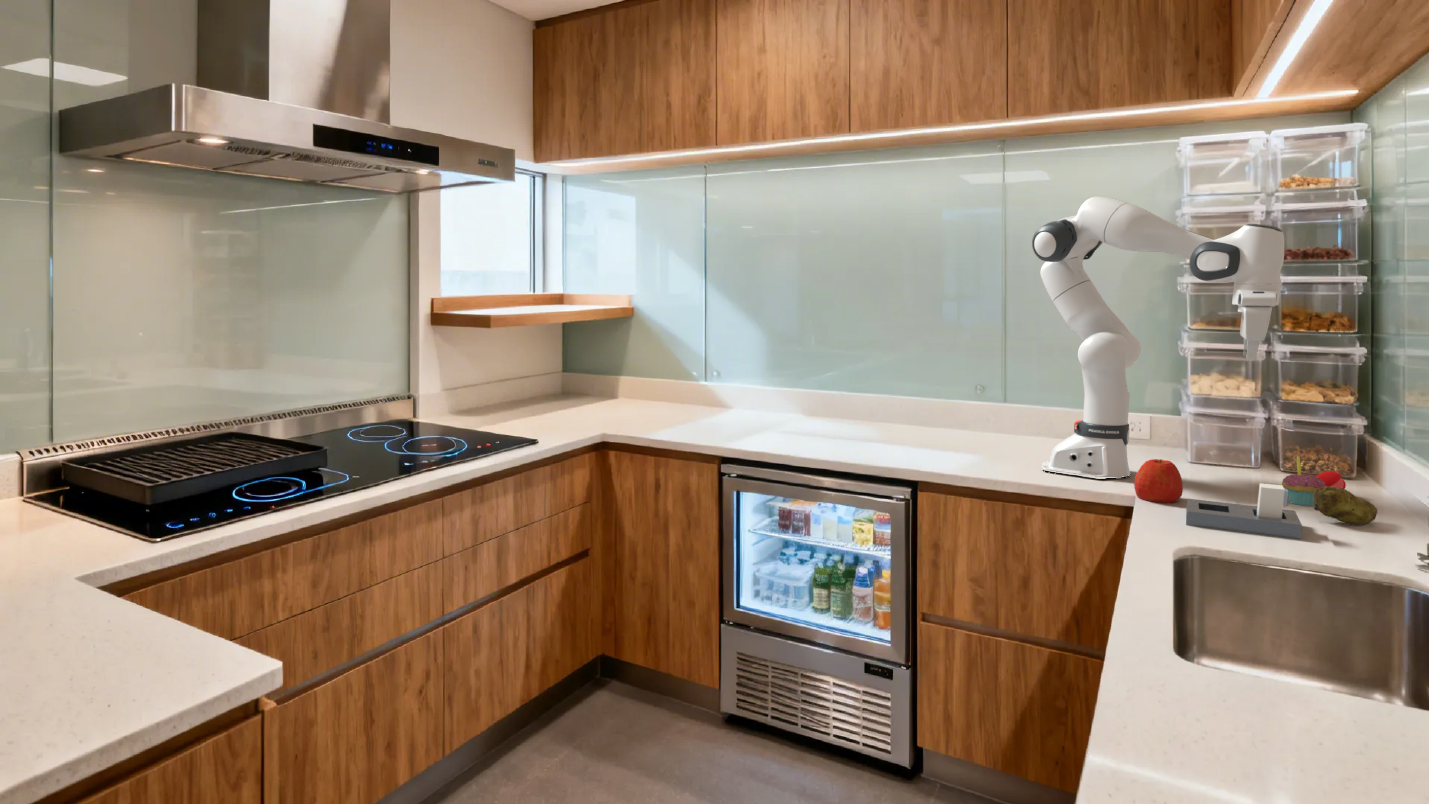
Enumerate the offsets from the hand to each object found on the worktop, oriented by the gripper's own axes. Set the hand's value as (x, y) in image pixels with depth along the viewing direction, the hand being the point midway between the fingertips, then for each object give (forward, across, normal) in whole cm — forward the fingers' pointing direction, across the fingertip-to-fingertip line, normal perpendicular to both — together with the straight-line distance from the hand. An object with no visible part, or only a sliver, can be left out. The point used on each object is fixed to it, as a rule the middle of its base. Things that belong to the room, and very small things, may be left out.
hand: (1249, 358), depth 183 cm
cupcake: (+35, -12, +14) cm, 40 cm away
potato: (+35, +3, +20) cm, 40 cm away
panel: (+35, +18, 0) cm, 39 cm away
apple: (+35, +3, -16) cm, 39 cm away
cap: (+35, -24, +20) cm, 47 cm away
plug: (+34, +18, +5) cm, 39 cm away
